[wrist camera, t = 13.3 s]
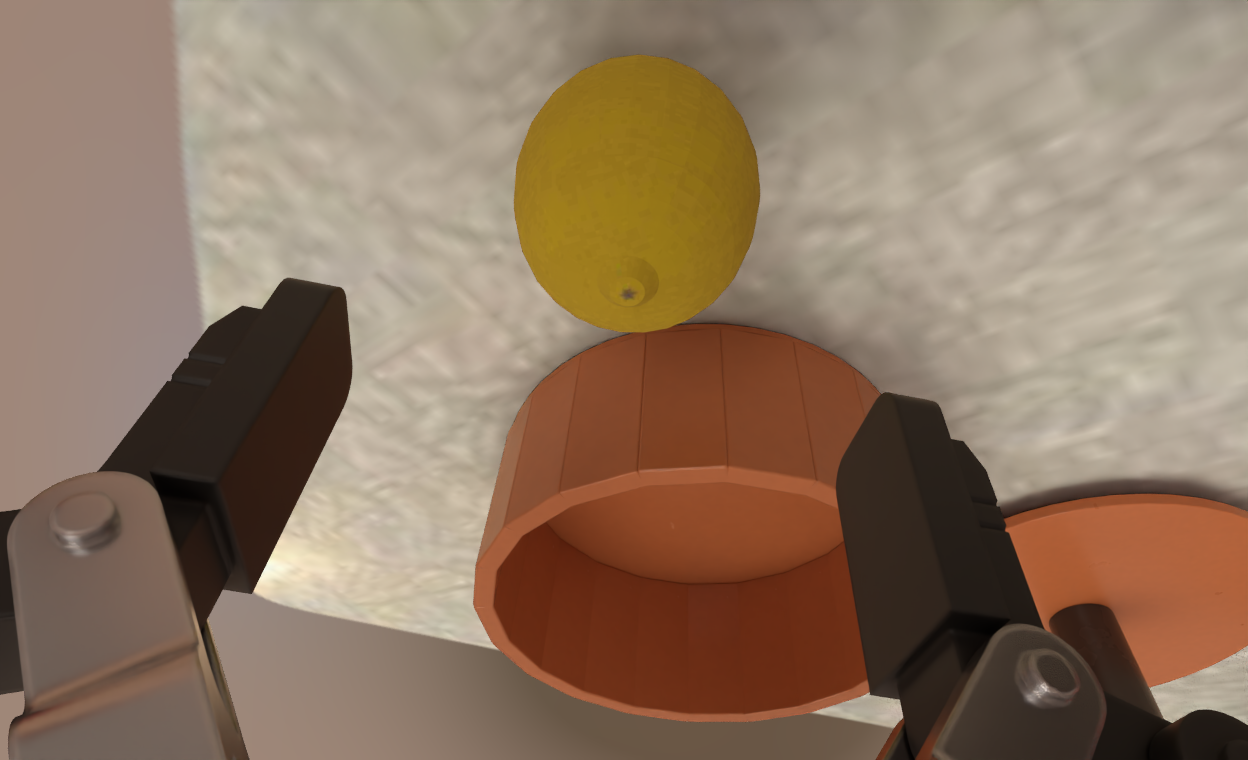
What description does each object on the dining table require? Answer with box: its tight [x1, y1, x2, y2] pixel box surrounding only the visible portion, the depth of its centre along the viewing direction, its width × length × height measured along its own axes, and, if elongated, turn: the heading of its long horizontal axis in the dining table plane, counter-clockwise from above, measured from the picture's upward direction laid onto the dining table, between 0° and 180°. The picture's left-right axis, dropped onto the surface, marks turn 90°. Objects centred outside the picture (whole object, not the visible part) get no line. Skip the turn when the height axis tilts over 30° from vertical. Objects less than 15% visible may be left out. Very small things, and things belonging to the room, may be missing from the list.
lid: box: [1004, 494, 1248, 719], centre depth 31 cm, size 16×16×6 cm
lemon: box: [514, 55, 760, 332], centre depth 17 cm, size 6×6×8 cm
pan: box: [473, 324, 881, 722], centre depth 27 cm, size 15×15×6 cm
